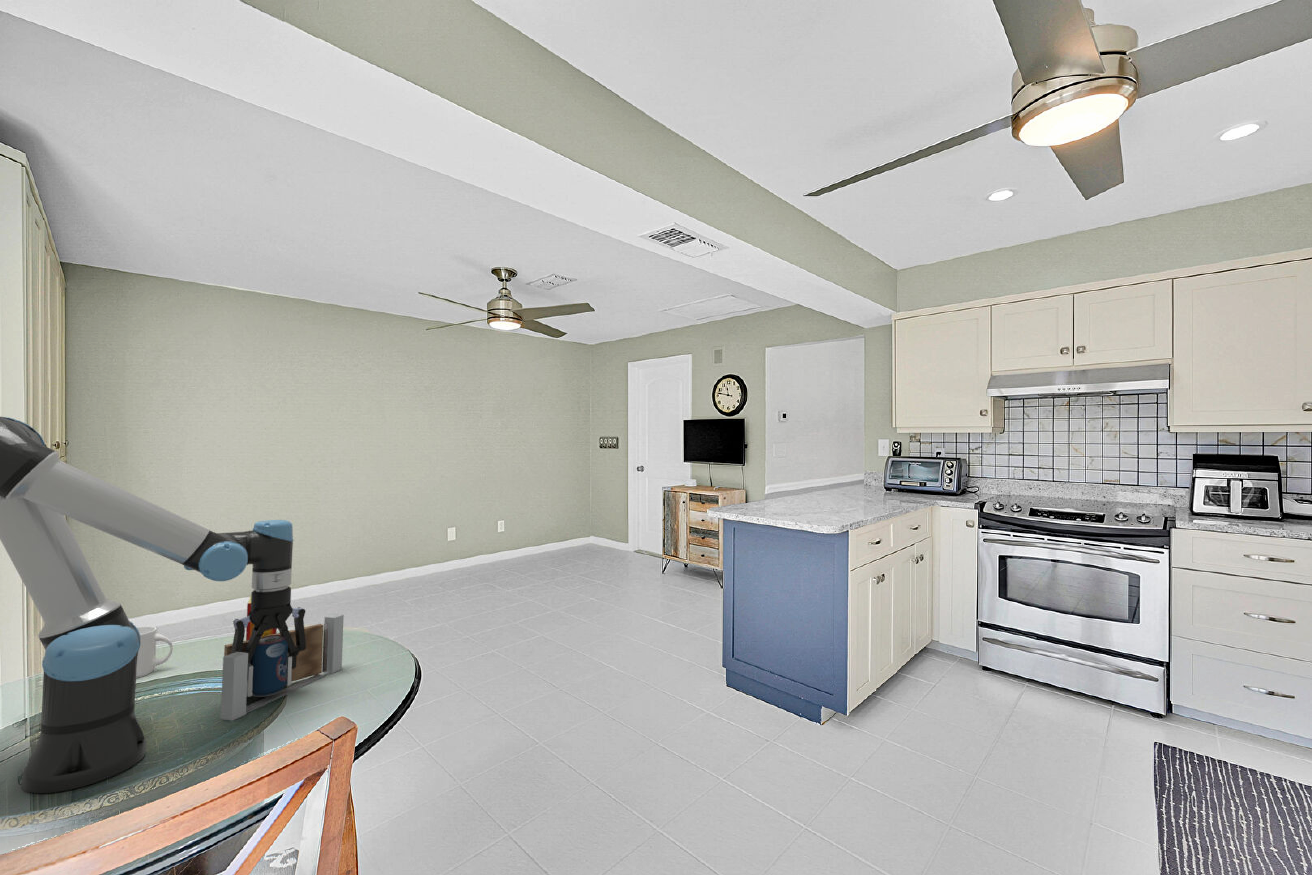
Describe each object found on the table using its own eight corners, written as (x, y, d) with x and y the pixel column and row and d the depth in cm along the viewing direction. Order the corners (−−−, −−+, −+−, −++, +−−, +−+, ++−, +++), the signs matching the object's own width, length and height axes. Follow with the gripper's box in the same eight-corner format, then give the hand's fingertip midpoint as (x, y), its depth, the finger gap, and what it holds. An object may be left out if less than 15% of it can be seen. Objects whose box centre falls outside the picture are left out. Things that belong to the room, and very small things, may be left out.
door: (224, 701, 122) (227, 646, 122) (220, 697, 124) (222, 643, 124) (328, 671, 139) (329, 623, 140) (322, 668, 141) (324, 621, 141)
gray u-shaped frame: (231, 720, 115) (234, 653, 115) (220, 718, 115) (223, 651, 116) (341, 668, 143) (343, 614, 143) (332, 667, 144) (334, 613, 144)
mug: (166, 675, 137) (168, 632, 138) (101, 684, 132) (103, 638, 132) (176, 663, 145) (178, 622, 145) (115, 671, 139) (117, 628, 139)
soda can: (286, 693, 125) (288, 640, 125) (248, 700, 121) (250, 645, 121) (286, 682, 130) (287, 631, 131) (249, 689, 126) (251, 637, 127)
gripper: (223, 599, 116) (218, 709, 116) (325, 582, 132) (322, 679, 131) (213, 593, 121) (209, 699, 120) (313, 578, 137) (309, 671, 136)
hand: (268, 688), depth 126 cm, fingers closed on soda can, 7 cm apart
